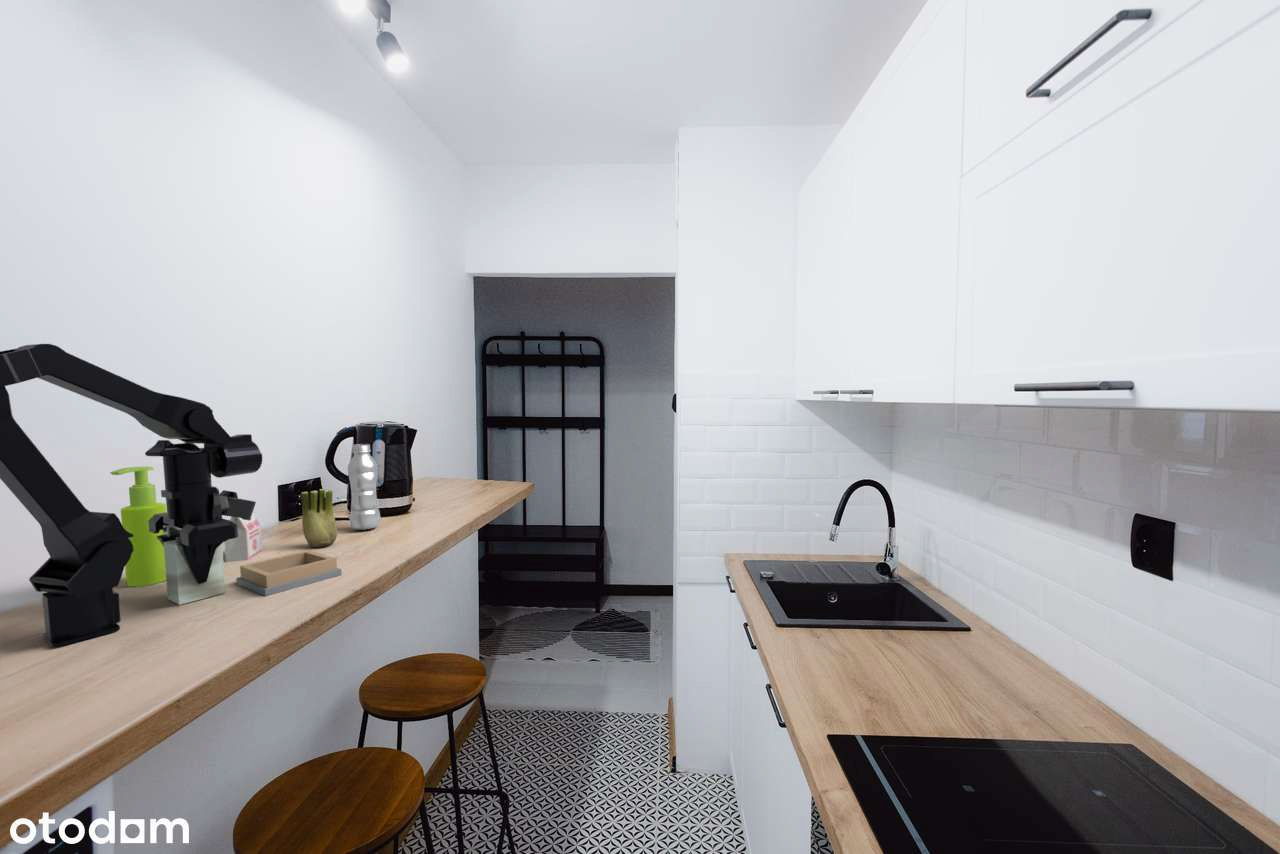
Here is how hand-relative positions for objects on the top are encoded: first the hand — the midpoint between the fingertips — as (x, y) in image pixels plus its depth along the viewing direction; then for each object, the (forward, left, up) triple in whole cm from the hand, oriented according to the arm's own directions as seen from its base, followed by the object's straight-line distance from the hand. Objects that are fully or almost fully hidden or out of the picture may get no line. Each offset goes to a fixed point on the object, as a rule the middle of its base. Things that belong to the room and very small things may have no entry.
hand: (195, 580), depth 90 cm
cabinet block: (0, 0, -3) cm, 3 cm away
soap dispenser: (-2, +17, -3) cm, 17 cm away
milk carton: (+14, +20, -3) cm, 25 cm away
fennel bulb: (+26, +14, -3) cm, 30 cm away
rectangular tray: (+12, -4, -3) cm, 13 cm away
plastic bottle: (+39, +20, -3) cm, 44 cm away
